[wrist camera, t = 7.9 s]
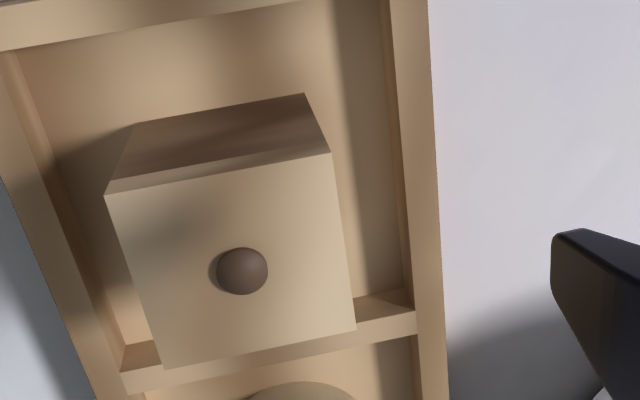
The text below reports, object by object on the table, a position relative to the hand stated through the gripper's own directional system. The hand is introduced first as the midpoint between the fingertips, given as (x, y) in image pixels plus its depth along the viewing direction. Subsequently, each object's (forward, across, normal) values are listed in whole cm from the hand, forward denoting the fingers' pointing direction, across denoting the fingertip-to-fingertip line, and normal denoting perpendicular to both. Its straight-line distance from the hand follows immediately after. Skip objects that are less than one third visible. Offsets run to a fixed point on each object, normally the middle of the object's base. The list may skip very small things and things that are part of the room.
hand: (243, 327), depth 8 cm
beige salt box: (+10, 0, +2) cm, 10 cm away
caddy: (+11, +1, +8) cm, 14 cm away
